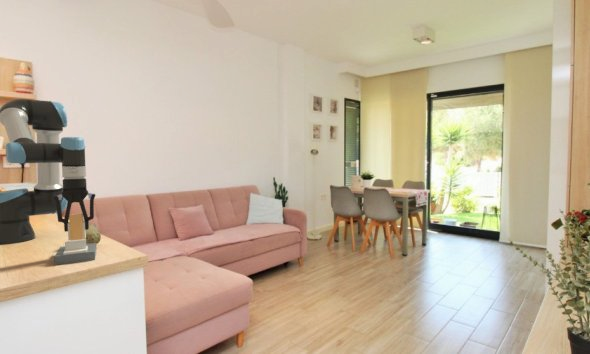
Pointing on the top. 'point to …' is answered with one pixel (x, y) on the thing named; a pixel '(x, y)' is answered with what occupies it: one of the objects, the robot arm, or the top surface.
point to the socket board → (75, 255)
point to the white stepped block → (75, 247)
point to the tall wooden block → (76, 226)
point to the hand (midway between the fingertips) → (77, 238)
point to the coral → (92, 234)
